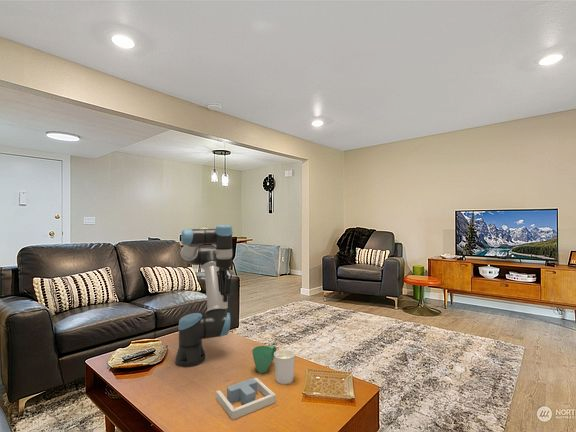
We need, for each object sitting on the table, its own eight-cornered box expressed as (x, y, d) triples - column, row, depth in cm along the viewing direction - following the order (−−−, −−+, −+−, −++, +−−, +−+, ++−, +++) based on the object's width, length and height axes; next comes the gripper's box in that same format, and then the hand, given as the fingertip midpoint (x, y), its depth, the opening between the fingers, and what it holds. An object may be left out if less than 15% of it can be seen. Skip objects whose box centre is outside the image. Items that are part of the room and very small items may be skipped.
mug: (263, 377, 143) (263, 356, 143) (248, 371, 148) (248, 351, 148) (282, 365, 155) (282, 345, 155) (267, 360, 160) (267, 341, 160)
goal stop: (216, 398, 127) (216, 391, 127) (256, 384, 137) (256, 377, 137) (232, 420, 113) (232, 411, 113) (275, 402, 124) (275, 394, 124)
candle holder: (298, 376, 144) (298, 351, 144) (289, 387, 135) (289, 360, 135) (279, 372, 148) (279, 347, 148) (270, 382, 139) (270, 356, 139)
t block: (226, 399, 126) (226, 386, 126) (252, 389, 133) (252, 378, 133) (237, 411, 118) (237, 398, 118) (264, 400, 125) (264, 388, 125)
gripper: (211, 257, 147) (211, 306, 147) (221, 260, 136) (222, 313, 136) (226, 255, 151) (226, 303, 151) (237, 258, 140) (237, 310, 140)
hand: (224, 308), depth 144 cm, fingers closed
